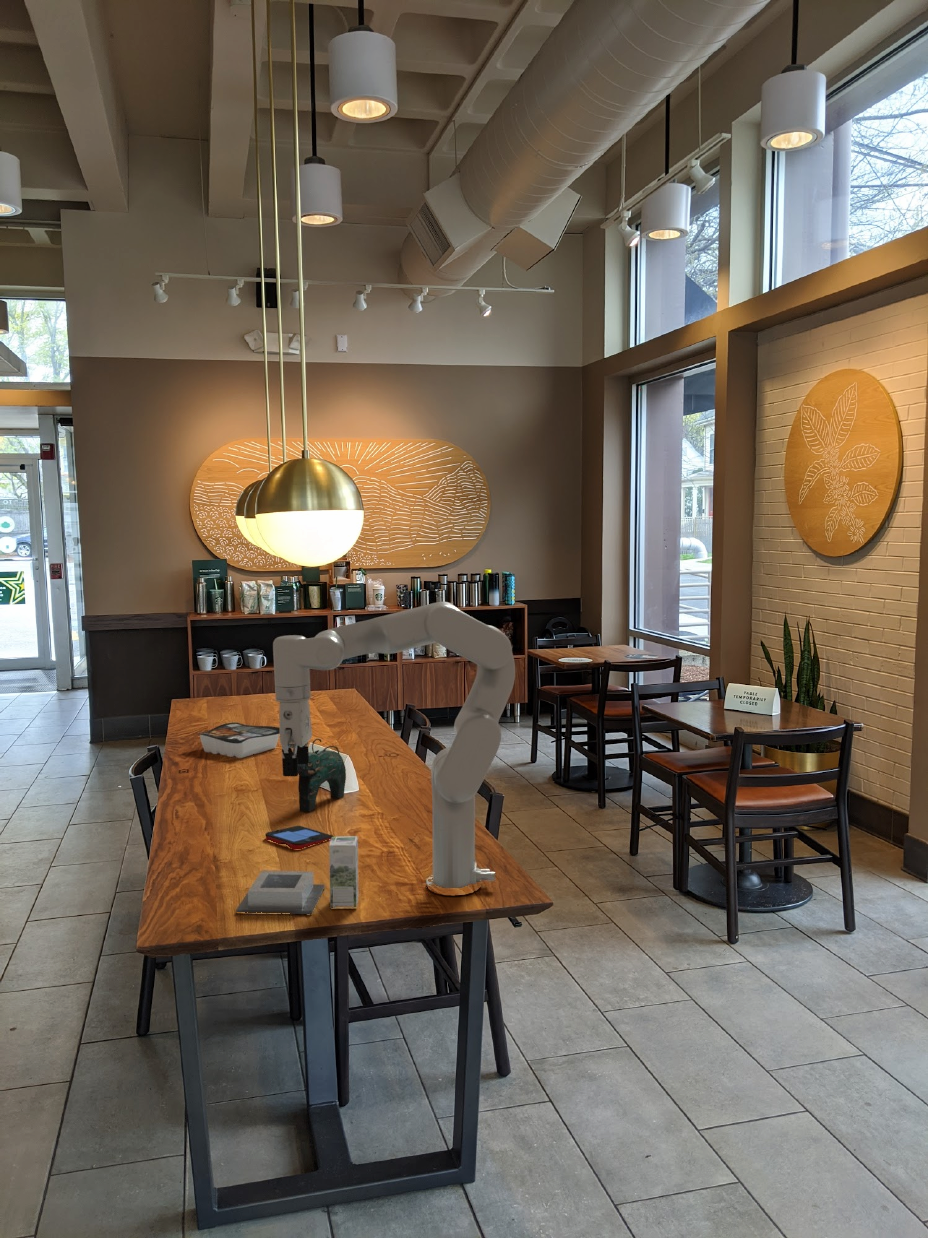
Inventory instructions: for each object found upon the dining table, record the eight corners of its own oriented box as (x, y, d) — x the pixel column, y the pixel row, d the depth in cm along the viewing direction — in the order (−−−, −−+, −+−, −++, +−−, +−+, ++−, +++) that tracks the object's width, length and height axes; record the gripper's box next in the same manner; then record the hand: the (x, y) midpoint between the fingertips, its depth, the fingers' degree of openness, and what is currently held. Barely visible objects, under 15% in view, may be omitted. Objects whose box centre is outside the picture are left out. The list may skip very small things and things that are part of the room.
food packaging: (190, 732, 331) (237, 720, 351) (191, 752, 332) (237, 740, 351) (241, 741, 318) (286, 728, 337) (242, 762, 319) (287, 748, 338)
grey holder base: (324, 889, 208) (324, 869, 208) (311, 915, 194) (311, 894, 194) (253, 888, 209) (253, 868, 208) (236, 914, 195) (235, 893, 194)
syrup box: (359, 899, 202) (358, 834, 201) (356, 910, 196) (355, 844, 195) (332, 899, 202) (331, 835, 201) (329, 911, 196) (328, 844, 195)
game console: (335, 840, 241) (335, 832, 241) (297, 854, 231) (297, 845, 231) (299, 829, 250) (299, 820, 250) (261, 841, 241) (261, 833, 240)
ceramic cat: (308, 815, 260) (306, 745, 258) (290, 811, 264) (288, 743, 261) (350, 797, 278) (349, 731, 276) (332, 794, 281) (331, 729, 279)
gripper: (300, 700, 192) (303, 781, 194) (318, 685, 209) (321, 759, 211) (264, 700, 192) (268, 781, 194) (286, 685, 209) (289, 759, 211)
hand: (296, 769), depth 202 cm, fingers open, 9 cm apart
